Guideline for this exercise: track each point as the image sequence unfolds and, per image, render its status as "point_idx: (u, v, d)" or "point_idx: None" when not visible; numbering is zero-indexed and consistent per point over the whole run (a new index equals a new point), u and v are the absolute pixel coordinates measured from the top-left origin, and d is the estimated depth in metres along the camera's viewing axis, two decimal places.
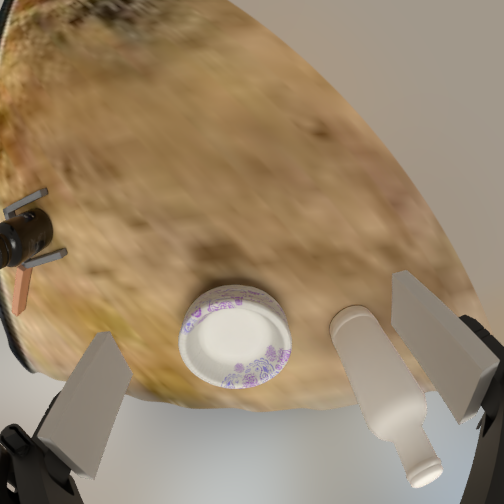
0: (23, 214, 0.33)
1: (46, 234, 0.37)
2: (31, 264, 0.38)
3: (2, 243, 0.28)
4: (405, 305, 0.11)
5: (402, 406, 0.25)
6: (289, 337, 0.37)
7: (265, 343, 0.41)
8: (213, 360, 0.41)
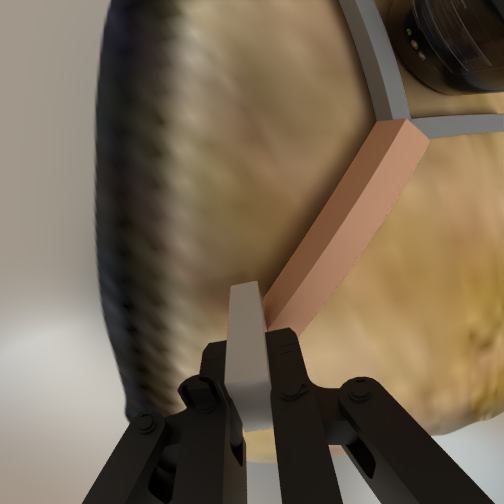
0: None
1: None
2: (439, 127, 0.11)
3: None
4: None
5: None
6: None
7: None
8: None
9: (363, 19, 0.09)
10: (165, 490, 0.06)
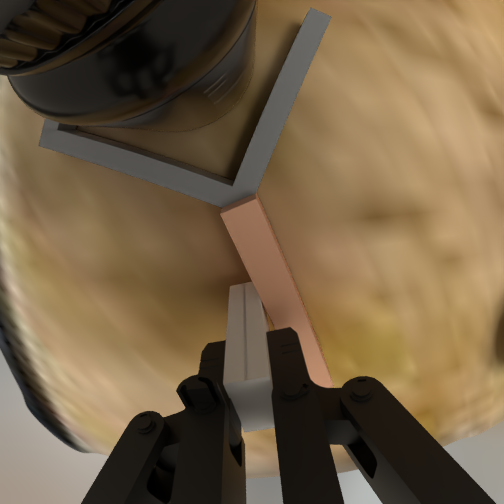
0: None
1: (253, 61, 0.10)
2: (259, 154, 0.12)
3: None
4: None
5: None
6: None
7: None
8: None
9: (118, 170, 0.12)
10: (164, 490, 0.06)
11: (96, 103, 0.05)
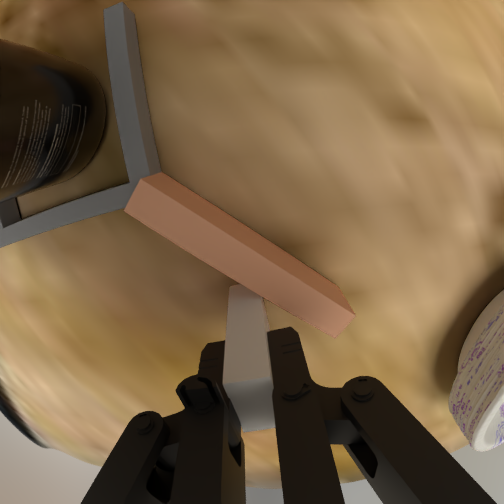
0: None
1: (88, 120, 0.10)
2: (132, 143, 0.11)
3: None
4: None
5: None
6: None
7: None
8: None
9: (52, 228, 0.12)
10: (164, 490, 0.06)
11: None
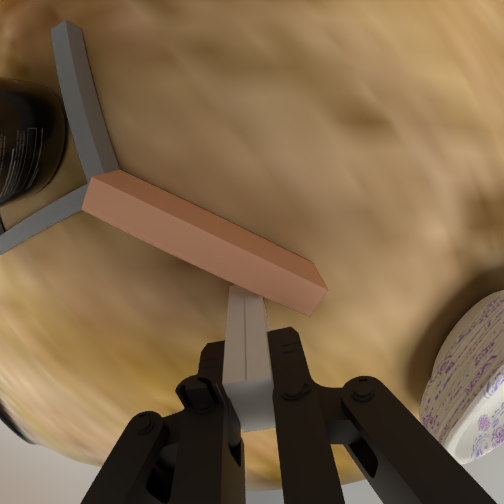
0: None
1: (46, 140, 0.11)
2: (85, 146, 0.11)
3: None
4: None
5: None
6: None
7: None
8: None
9: (28, 237, 0.12)
10: (163, 490, 0.06)
11: None
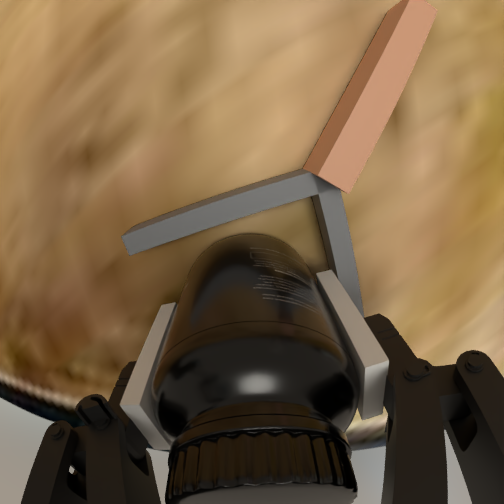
0: None
1: (263, 245, 0.13)
2: (279, 193, 0.12)
3: (213, 451, 0.05)
4: None
5: None
6: None
7: None
8: None
9: (359, 286, 0.14)
10: None
11: (354, 414, 0.08)
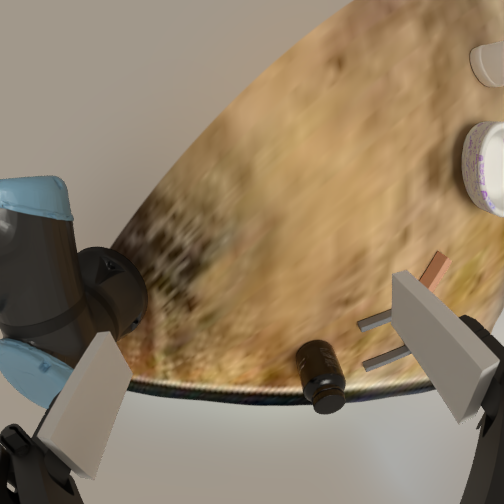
0: (300, 368, 0.45)
1: (322, 347, 0.46)
2: None
3: (324, 392, 0.38)
4: (405, 305, 0.11)
5: None
6: (503, 123, 0.28)
7: (501, 143, 0.32)
8: None
9: None
10: None
11: (344, 387, 0.40)
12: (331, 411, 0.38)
